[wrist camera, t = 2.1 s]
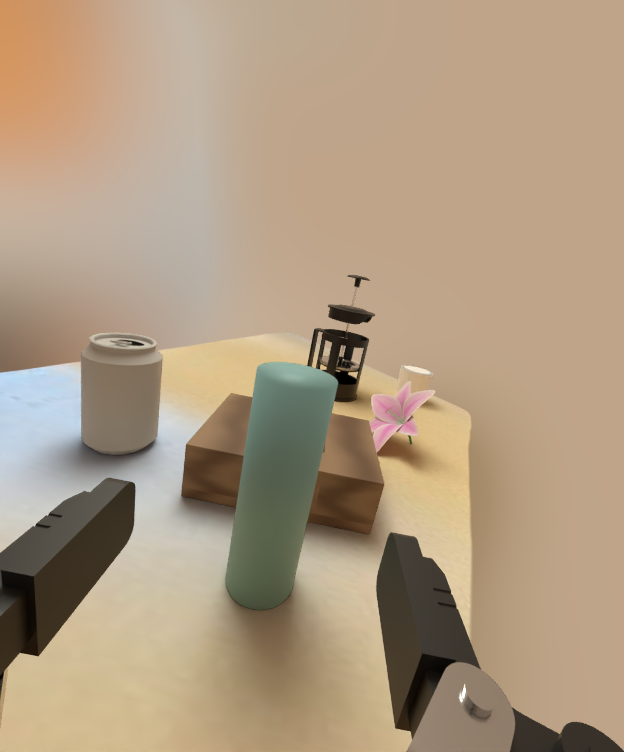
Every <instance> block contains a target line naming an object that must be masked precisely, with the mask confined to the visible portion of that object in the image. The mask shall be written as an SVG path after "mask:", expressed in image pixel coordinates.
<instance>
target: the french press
mask: <svg viewBox="0 0 624 752" xmlns="http://www.w3.org/2000/svg"><path fill="white" fill-rule="evenodd" d="M348 277H353V278H356V279H355V285H354V286H355V287H356V288H355V292H354V297H353V301H352V306H346V305H328V307H330V311H329V317H330V318H332V319H335V320H339V321H342V322H346V323H348V324H347V329H346V331H341V330H334V329H320V328H317V329H314V334H313V339H312V344H311V349H310V354H309V359H308V365H307V366H309V367H312V362H313V357H314V352H315V347H316V342H317V336H318V332H319V331H320V332H323V334H322V340H321V345H320V350H319V355H318V360H317V365H316V369H319V370H320V365H321V364H322V365H324V366H326V367H327V370H322V371H324V372H326V373H328V374H330V375H332V376H333V377H335V378H336V379H337V381H338V386H337V391H336V395H335V400H334V401H340V402H350V401H353V400H355V399H356V397H357V395H356V392H357V388H358V384H359V380H360V375H361V371H362V367H363V363H364V359H365V355H366V351H367V346H368V342H369V339H368V338H366V337H364V336H361V335H358V334H355V333H351V332H348V328H349V323H351V324H360V323H362V322H369V321H370V320H371V318H372V316H375V314H373V313H371V312H368V311H366V310H363V309H360V308H356V307H353V305H354V301H355V296H356V292H357V287H359V285H360V282H361V279H363V280H369V279H368V278H365V277H361V276H357V275H348ZM369 281H370V280H369ZM342 337H344V338H342ZM346 338H348V339H346ZM325 340H327V341H330V342H332V346H331V351H330V356H322V355H323V350H324V345H325ZM341 345H343V347H342V351H341V356H340V357H339V353H340V348H341ZM344 346H346V348H345V352H344V357H342V355H343V351H344ZM354 347H357V348H364V350H363V354H362V358H361V362H360V365H359V364H357V363H355V362H353V361H351V359H352V354H353V349H354ZM336 370H339V371H340V372H338V371H336ZM357 371H358V375H357V379H356V378H355V377H353V376H351V375H348V372H357Z"/></svg>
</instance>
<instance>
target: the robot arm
mask: <svg viewBox="0 0 624 752" xmlns="http://www.w3.org/2000/svg"><path fill="white" fill-rule="evenodd" d="M134 511H135V484H134V483H133V482H129V481H123V480H118V479H113V478H107V479H105V480H104V481H102V482H101V483H100V484H99V485H98V486H97V487H95V488H94V489H93V490H92V491H91V492H86V491H84V492H82V493H79V494H77V495H75V496H73V497H71V498H69V499H67V500H65V501H63V502H62V503H61V504H60V505H58V506H57V507H56V508H55V509H54V510H52V511H51V512H50V513H49V515H48V516H45V517H44V518H43V519H41V520H40V521H39V522H38V523H36V526H35V527H34V526H33V527H32V528H30V529H29V530H28V531H27V532H25V533H24V534H23V535H22V536H21V537H19V538H18V539H17V540H16V541H14V542H13V543H12V544H11V545H10V546H8V547H7V548H6V549H5V550H3V551H2V552H1V553H0V727H1V720H2V712H3V705H4V697H5V690H6V682H7V672H8V671H7V667H8V666H9V665H10V664H11V663H12V661H13V660H14V659H15V658H16V657H17V655H18V654H19V653H24V654H29V655H34V656H39V655H40V654H41V652H42V651H43V650H44V649H45V647H46V646H47V645H48V644H49V642H50V641H51V640H52V638H53V637H54V636H55V635H56V633H57V632H58V631H59V630H60V628H61V627H62V626H63V624H64V623H65V622H66V621H67V619H68V618H69V617H70V616H71V614H72V613H73V612H74V610H75V609H76V608H77V607H78V605H79V604H80V603H81V602H82V600H83V599H84V598H85V596H86V595H87V594H88V593H89V591H90V590H91V589H92V587H93V586H94V585H95V584H96V582H97V581H98V580H99V579H100V577H101V576H102V575H103V573H104V572H105V571H106V570H107V568H108V567H109V566H110V565H111V563H112V562H113V561H114V559H115V558H116V557H117V556H118V554H119V553H120V552H121V551H122V549H123V548H124V547H125V545H126V544H127V542H128V540H129V538H130V536H131V534H132V531H133V526H134ZM376 591H377V600H378V608H379V615H380V622H381V629H382V636H383V644H384V651H385V658H386V665H387V672H388V679H389V687H390V694H391V701H392V708H393V715H394V723H395V728H396V729H401V730H406V731H411V736H412V741H411V744H410V746H409V748H408V750H407V752H624V751H623V750H622V749H621V748H620V747H619V746H618V745H617V744H616V743H615V742H614V741H613V740H611V739H610V738H609V737H607V736H606V735H605V734H604V733H602V732H600V731H599V730H597V729H596V728H594V727H592V726H589V725H587V724H584V723H580V722H571V723H568V724H567V725H566V726H564V728H563V730H562V732H561V733H560V734H558V733H557V732H554V731H553V730H551V729H549V728H547V727H545V726H543V725H542V724H540V723H538V722H536V721H534V720H532V719H530V718H529V717H527V716H525V715H523V714H521V713H520V712H518V711H516V710H515V709H514V708H512V707H511V705H510V702H509V701H508V699H507V697H506V695H505V694H504V692H503V691H502V689H501V688H500V687H499V686H498V684H497V683H496V682H495V681H494V680H493V679H492V678H491V677H490V676H488V675H487V674H486V673H485V672H483V671H482V670H481V668H480V667H479V664H478V661H477V658H476V656H475V653H474V651H473V648H472V645H471V643H470V640H469V637H468V635H467V632H466V629H465V627H464V624H463V621H462V619H461V616H460V614H459V611H458V609H456V603H455V600H454V598H453V595H451V590H450V587H449V585H448V582H447V579H446V577H445V574H444V573H443V572H442V570H441V569H440V568H439V567H438V565H437V564H436V563H435V562H434V560H433V559H431V558H426V557H423V556H422V553H421V550H420V547H419V544H418V541H417V539H416V537H413V536H407V535H402V534H397V533H392V532H391V533H390V534H389V536H388V539H387V542H386V546H385V549H384V553H383V556H382V560H381V563H380V567H379V570H378V575H377V585H376Z"/></svg>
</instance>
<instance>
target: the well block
mask: <svg viewBox="0 0 624 752" xmlns="http://www.w3.org/2000/svg"><path fill="white" fill-rule="evenodd" d="M252 398H253V397H248V396H243V395H238V394H233V393H231V394H230V395H229V396H228V397H227V398H226V399H225V401H224V402H223V403H222V404H221V405H220V406H219V407H218V409H217V410H216V411H215V412H214V413H213V414H212V415H211V417H210V418H209V419H208V420H207V421H206V422H205V423H204V424H203V426H202V427H201V428H200V429H199V430H198V431H197V432H196V434H195V435H194V436H193V437H192V438H191V439H190V440H189V442H188V443H187V444H186V452H185V462H184V473H183V483H182V494H181V496H183V497H188V498H193V499H198V500H203V501H208V502H213V503H218V504H223V505H228V506H233V507H236V505H237V498H238V492H239V485H240V478H241V472H242V465H243V458H244V452H245V445H246V438H247V432H248V425H249V418H250V412H251V405H252ZM383 487H384V481H383V477H382V473H381V468H380V464H379V460H378V456H377V452H376V448H375V444H374V440H373V436H372V431H371V427H370V423H369V421H367V420H362V419H357V418H352V417H347V416H342V415H337V414H332V413H331V418H330V422H329V427H328V431H327V436H326V440H325V445H324V449H323V453H322V458H321V462H320V467H319V471H318V476H317V480H316V485H315V489H314V494H313V498H312V503H311V507H310V512H309V516H308V521H307V522H312V523H317V524H322V525H327V526H332V527H337V528H341V529H346V530H351V531H356V532H361V533H366V534H370V532H371V528H372V525H373V521H374V518H375V515H376V511H377V508H378V504H379V501H380V497H381V494H382V490H383Z"/></svg>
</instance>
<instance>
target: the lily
mask: <svg viewBox="0 0 624 752" xmlns="http://www.w3.org/2000/svg"><path fill="white" fill-rule="evenodd" d="M410 393H411V382H410V381H409V382H407V383H406V384H405V385H404V386H403V387H402V388H401V389H400V391H399V392H398V393H397V394H396V396H395V397H393V396H391V395H388V394H374V395H373V396H372V397H371V406H372V410H373V413H374V414H375V416H376V417H375V418H373V419H372V420H371V421H370V422H369V423H370V427H371V431H372V432H374V434H373V440H374V444H375V448H376V452H378V451H379V450H380V449H381V447H382V446H383V445H384V444H385V443H386V441H387V440H388V439H389V438H390V437H391V436H392V435H393V434H394V433H395V432H398V433H401V434H406V435H408V436H409V441H410V444H412V441H411V437H410V435H411V436H418V434H419V432H418V428H417V425H416V422H415V419H414V417H413V416H412V414H413V413H414V412H415V411H416V410H417V409H418V408H419V407H420V406H421V405H422V404H423V403H424V402H426V401H427V400H428V399H429V398H430V397H431V396H432V395H433V394H434V393H435V391H434V390H425V391H419V392H415V393H412V394H410Z"/></svg>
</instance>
